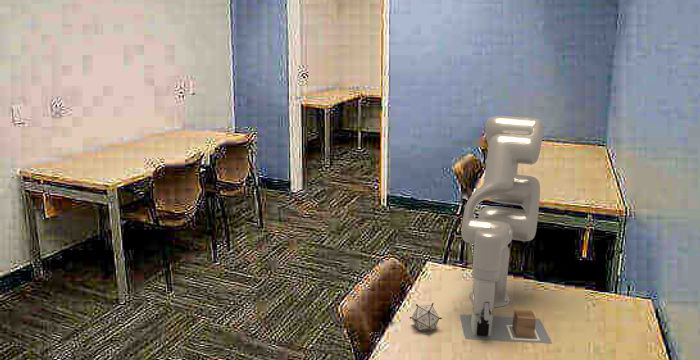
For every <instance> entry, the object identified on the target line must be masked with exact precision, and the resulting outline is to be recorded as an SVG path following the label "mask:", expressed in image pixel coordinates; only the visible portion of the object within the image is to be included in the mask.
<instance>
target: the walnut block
mask: <svg viewBox="0 0 700 360" xmlns="http://www.w3.org/2000/svg"><path fill="white" fill-rule="evenodd" d="M512 316H513V326H512V329H513V331H514V334H515V336H516V337H525V338H534V332H535V323H536V315H535V314H534V311H533V310H531V309H530V310H529V309H514V310H513V315H512Z"/></svg>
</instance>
